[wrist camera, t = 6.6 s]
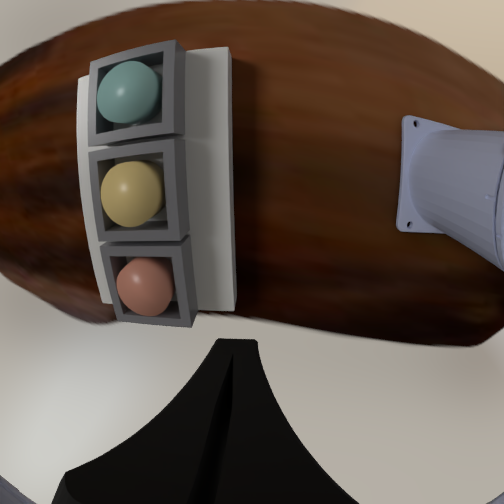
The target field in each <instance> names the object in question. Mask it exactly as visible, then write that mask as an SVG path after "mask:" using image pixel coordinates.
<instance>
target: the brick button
mask: <svg viewBox="0 0 504 504" xmlns="http://www.w3.org/2000/svg"><path fill="white" fill-rule="evenodd" d="M117 291H118V294H119V296H120V298H121V300H122V301H123V302H124V304H125V305H126V306H127V307H128V308H129V309H131V310H132V311H134V312H135V313H137V314H140V315H143V316H156V315H158V314H160V313H162V312H163V311H164V310H165V309H166V308H167V306H168V304H169V302H170V301H171V299H172V297H173V295H174V294H175V292H176V286H175V279H174V272H173V265H172V263H171V262H170V261H169V260H168V259H167V258H166V257H138V256H136V257H135V258H134V259H133V260H132V261H130V262H129V263H128V264H127V265H126V266H125V267H124V268H123V269H122V270H121V271H120V273H119V275H118V277H117Z"/></svg>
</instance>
